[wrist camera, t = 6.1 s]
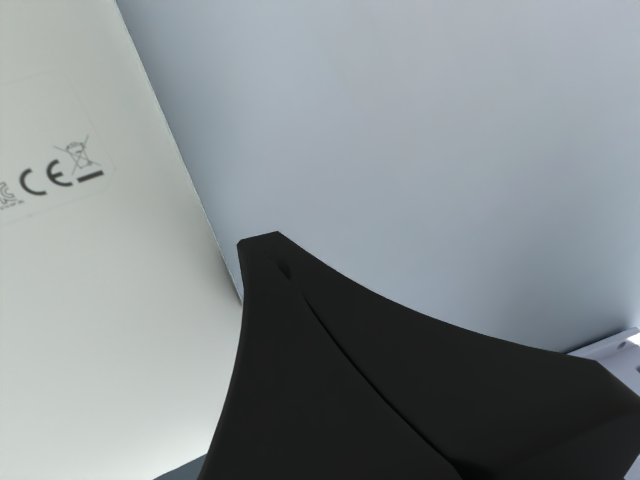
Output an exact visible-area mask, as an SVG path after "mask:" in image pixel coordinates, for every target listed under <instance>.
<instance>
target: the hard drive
mask: <svg viewBox="0 0 640 480" xmlns="http://www.w3.org/2000/svg"><path fill="white" fill-rule="evenodd" d="M242 312H243V300H242V298H241V296H240V293H239V291H238V289H237V286H236V284H235V281H234V279H233V277H232V274H231V272H230V270H229V267H228V265H227V262H226V260H225V258H224V256H223V254H222V251H221V249H220V246H219V244H218V241H217V239H216V237H215V234H214V232H213V229H212V227H211V225H210V223H209V220H208V218H207V215H206V213H205V210H204V208H203V206H202V203H201V201H200V198H199V196H198V194H197V192H196V189H195V187H194V185H193V182H192V180H191V177H190V175H189V173H188V171H187V168H186V166H185V164H184V161H183V159H182V156H181V154H180V151H179V149H178V146H177V144H176V142H175V139H174V137H173V135H172V132H171V130H170V128H169V125H168V123H167V120H166V118H165V116H164V114H163V111H162V109H161V107H160V105H159V102H158V100H157V98H156V96H155V93H154V90H153V88H152V85H151V83H150V81H149V78H148V76H147V73H146V71H145V69H144V66H143V64H142V62H141V59H140V57H139V55H138V52H137V50H136V48H135V45H134V43H133V41H132V38H131V36H130V34H129V31H128V29H127V27H126V24H125V22H124V20H123V17H122V15H121V13H120V10H119V8H118V6H117V3H116V1H115V0H0V480H153V479H155V478H157V477H159V476H160V475H162V474H164V473H167V472H169V471H172V470H174V469H176V468H178V467H180V466H182V465H184V464H186V463H188V462H190V461H192V460H195V459H197V458H199V457H201V456H202V455H204V454H206V453H207V452H208V449H209V447H210V444H211V441H212V438H213V435H214V432H215V429H216V426H217V423H218V421H219V418H220V415H221V412H222V409H223V405H224V402H225V398H226V395H227V391H228V387H229V383H230V379H231V375H232V372H233V368H234V363H235V358H236V353H237V348H238V343H239V337H240V330H241V322H242Z"/></svg>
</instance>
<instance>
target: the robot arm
mask: <svg viewBox="0 0 640 480" xmlns="http://www.w3.org/2000/svg"><path fill="white" fill-rule="evenodd" d="M237 251H238V257H239V263H240V269H241V275H242V281H243V287H244V301H243V312H242V322H241V330H240V337H239V343H238V348H237V353H236V358H235V363H234V368H233V372H232V375H231V379H230V383H229V387H228V391H227V395H226V398H225V402H224V405H223V409H222V412H221V415H220V418H219V421H218V423H217V426H216V429H215V432H214V435H213V438H212V441H211V444H210V447H209V449H208V452H207V455H206V458H205V461H204V463H203V466H202V468H201V471H200V473H199V476H198V478H197V480H640V346H639V343H640V330H639V329H638V328H636V327H634V328H630V329H628V330H625V331H623V332H620V333H618V334H615V335H613V336H610V337H608V338H605V339H603V340H601V341H598V342H596V343H593V344H591V345H588V346H586V347H583V348H581V349H578V350H576V351H573V352H571V353H568V354H562V353H558V352H553V351H548V350H543V349H538V348H533V347H529V346H524V345H520V344H517V343H513V342H509V341H505V340H502V339H498V338H494V337H490V336H487V335H483V334H480V333H477V332H473V331H470V330H467V329H464V328H461V327H458V326H455V325H452V324H449V323H446V322H444V321H441V320H438V319H435V318H432V317H429V316H427V315H424V314H422V313H419V312H417V311H414V310H412V309H410V308H407V307H405V306H403V305H401V304H398V303H396V302H394V301H392V300H389V299H387V298H385V297H383V296H381V295H379V294H377V293H375V292H373V291H371V290H369V289H367V288H365V287H364V286H362V285H360V284H358V283H356V282H354V281H353V280H351V279H349V278H347V277H346V276H344V275H342V274H341V273H339V272H337V271H336V270H334V269H333V268H331V267H329V266H328V265H326V264H325V263H323V262H322V261H320V260H319V259H317V258H316V257H314V256H313V255H311V254H310V253H308V252H307V251H305V250H304V249H303V248H301V247H300V246H298V245H297V244H296V243H294V242H293V241H291V240H290V239H288V238H287V237H286V236H284V235H283V234H281V233H280V232H278V231H276V232H271V233H267V234H263V235H258V236H254V237H250V238H246V239H241V240H240V241H239V243H238V244H237Z"/></svg>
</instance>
